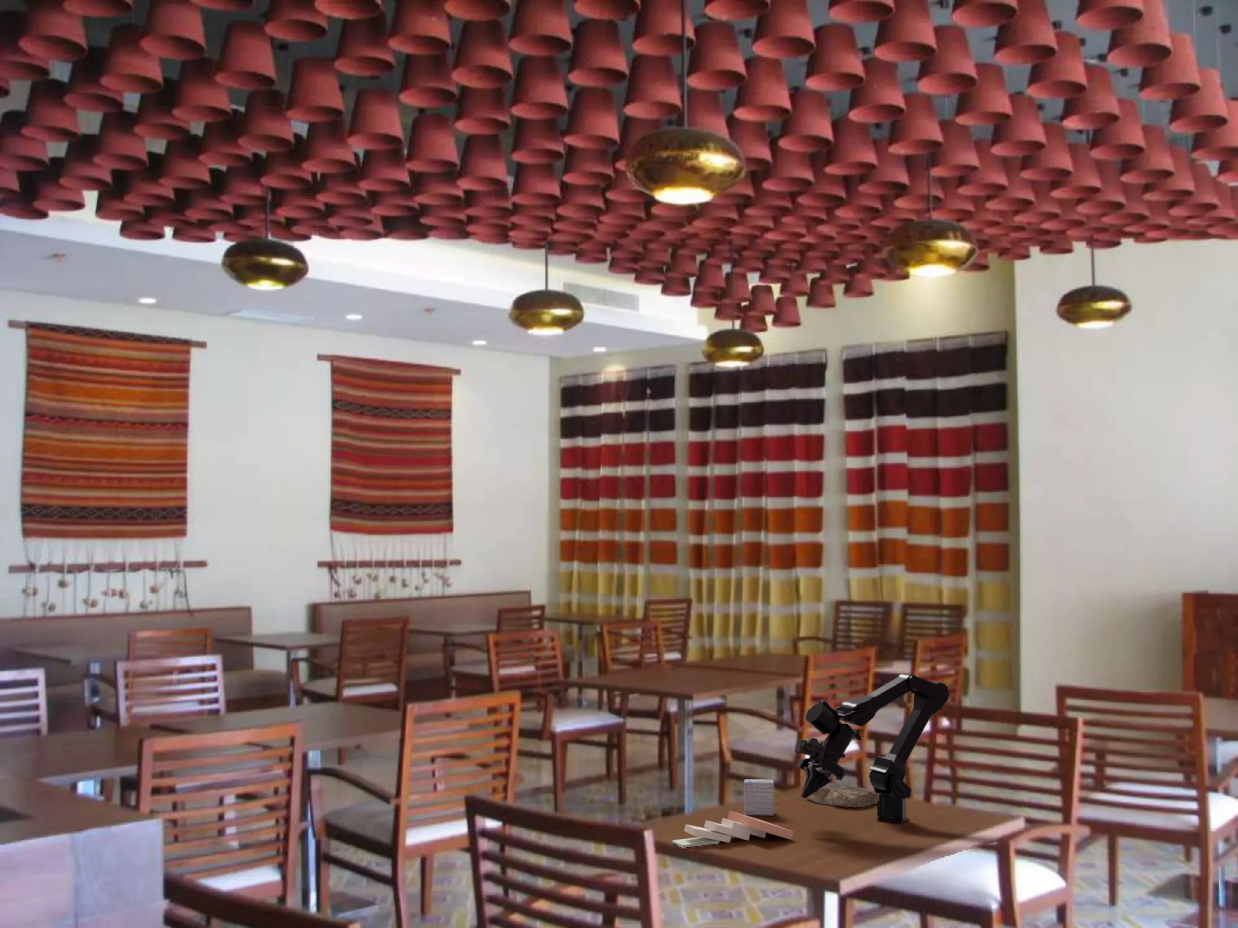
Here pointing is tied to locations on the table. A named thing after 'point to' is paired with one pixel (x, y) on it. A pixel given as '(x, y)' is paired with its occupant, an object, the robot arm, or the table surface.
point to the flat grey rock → (844, 796)
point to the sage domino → (694, 842)
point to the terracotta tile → (760, 825)
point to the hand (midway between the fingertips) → (803, 797)
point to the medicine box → (758, 797)
